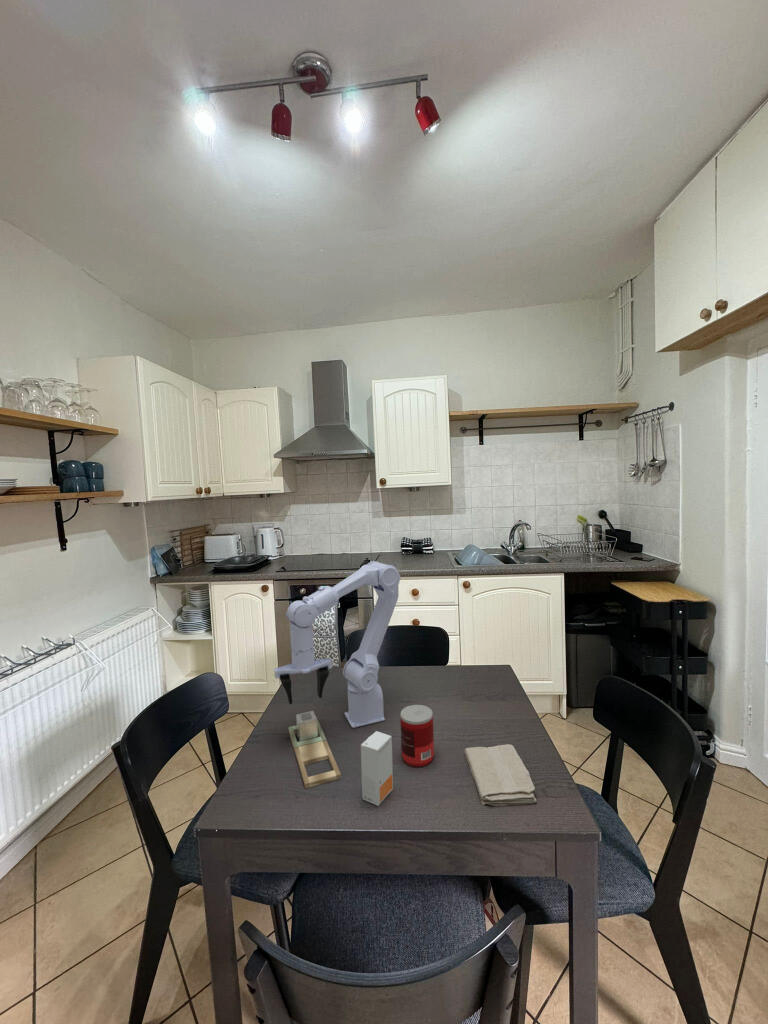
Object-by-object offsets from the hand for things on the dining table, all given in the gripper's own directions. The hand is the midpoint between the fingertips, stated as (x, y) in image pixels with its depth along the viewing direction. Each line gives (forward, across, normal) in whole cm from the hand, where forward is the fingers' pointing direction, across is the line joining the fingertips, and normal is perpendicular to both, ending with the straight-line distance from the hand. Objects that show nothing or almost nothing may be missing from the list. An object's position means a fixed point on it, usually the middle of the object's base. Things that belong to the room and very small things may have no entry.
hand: (305, 699), depth 113 cm
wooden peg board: (+10, 0, -7) cm, 13 cm away
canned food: (+11, +23, -19) cm, 32 cm away
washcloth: (+11, +36, -32) cm, 50 cm away
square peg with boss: (+10, 0, -1) cm, 11 cm away
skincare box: (+11, +10, -27) cm, 31 cm away
